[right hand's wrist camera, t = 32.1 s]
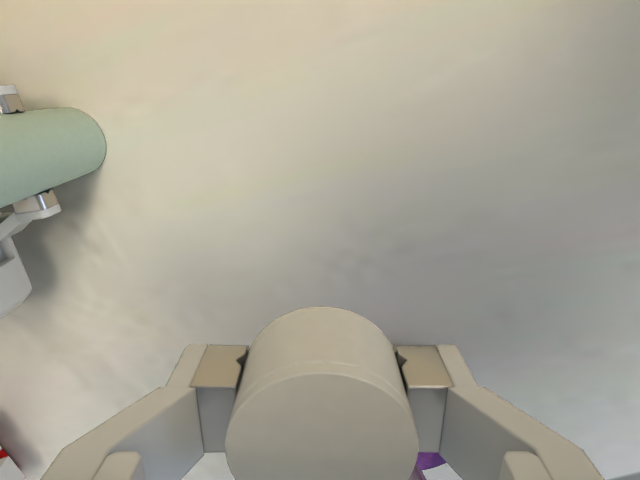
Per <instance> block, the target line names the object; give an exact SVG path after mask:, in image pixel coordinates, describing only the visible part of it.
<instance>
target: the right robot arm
mask: <svg viewBox="0 0 640 480" xmlns="http://www.w3.org/2000/svg"><path fill="white" fill-rule="evenodd" d="M249 349H250V348H249V346H247V345H188V346H187V347H186V348H185V349H184V351H183V353H182V355H181V357H180V359H179V361H178V363H177V365H176V367H175V369H174V371H173V372H172V374H171V376H170V378H169V380H168V382H167V384H166V386H165V387H159V388H157V389H155V390H154V391H152V392H151V393H149V394H148V395H146V396H144V397H143V398H141V399H140V400H138V401H137V402H135V403H134V404H132V405H130V406H129V407H127V408H126V409H124V410H123V411H121V412H119V413H118V414H116V415H115V416H113V417H112V418H110V419H109V420H107V421H105V422H104V423H102V424H101V425H99V426H98V427H96V428H94V429H93V430H91V431H90V432H88V433H87V434H85V435H84V436H82V437H80V438H79V439H77V440H76V441H74V442H73V443H71V444H69V445H68V446H66V447H65V448H63V449H62V450H61V451H60V453H59V454H58V455H57V457H56V458H55V460H54V461H53V462H52V464H51V465H50V467H49V468H48V469H47V471H46V472H45V474H44V475H43V476H42V478H41V479H40V480H181V479H182V478H183V477H184V476H185V475H186V474H187V473H188V472H189V470H190V469H191V468H192V467H193V466H194V465H195V464H196V463H197V462H198V461H199V460H200V459H201V458H202V456H203V455H204V453H210V452H225V439H226V432H227V429H228V425H229V421H230V417H231V414H232V410H233V406H234V403H235V399H236V396H237V392H238V388H239V385H240V381H241V377H242V373H243V369H244V366H245V362H246V359H247V355H248V351H249ZM393 349H394V352H395V355H396V359H397V363H398V366H399V369H400V372H401V377H402V380H403V384H404V387H405V391H406V395H407V398H408V401H409V404H410V408H411V412H412V415H413V419H414V422H415V426H416V429H417V434H418V443H419V450H418V452H433V453H439V455H440V456H441V457H442V458H443V459H444V460H445V461H446V462H447V463H448V464H449V465H450V467H451V468H452V469H453V470H454V471H455V472H456V473H457V474H458V475H459V476H460V477H461V478H462V479H463V480H604V478H603V477H602V475H601V474H600V473H599V471H598V470H597V468H596V467H595V466H594V464H593V463H592V461H591V460H590V459H589V457H588V456H587V455H586V453H585V452H584V450H582V449H581V448H579V447H578V446H576V445H575V444H573V443H571V442H570V441H568V440H567V439H565V438H564V437H562V436H560V435H559V434H557V433H556V432H554V431H553V430H551V429H549V428H548V427H546V426H545V425H543V424H542V423H540V422H538V421H537V420H535V419H534V418H532V417H531V416H529V415H527V414H526V413H524V412H523V411H521V410H520V409H518V408H516V407H515V406H513V405H512V404H510V403H509V402H507V401H505V400H504V399H502V398H501V397H499V396H498V395H496V394H494V393H493V392H491V391H490V390H488V389H487V388H485V387H478V385H477V383H476V381H475V379H474V378H473V376H472V374H471V372H470V370H469V368H468V366H467V365H466V363H465V361H464V359H463V357H462V355H461V353H460V351H459V350H458V348H457V346H455V345H454V344H449V345H430V346H394V348H393Z"/></svg>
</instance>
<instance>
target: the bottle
mask: <svg viewBox="0 0 640 480" xmlns="http://www.w3.org/2000/svg"><path fill="white" fill-rule="evenodd" d="M105 154H106V142H105V138H104V135H103V132H102V130H101V129H100V127H99V126H98V124H97V123H96V122H95V121H94V120H93V119H92V118H91V117H90V116H89V115H87V114H86V113H84V112H82V111H80V110H78V109H75V108H70V107H60V108H50V109H40V110H30V111H23V112H15V113H5V114H0V208H2V207H5V206H7V205H10V204H12V203H15V202H17V201H20V200H22V199H25V198H27V197H30V196H33V195H35V194H38V193H40V192H43V191H45V190H48V189H50V188H53V187H55V186H58V185H60V184H63V183H65V182H68V181H70V180H73V179H75V178H78V177H81V176H83V175H86V174H88V173H91V172H93V171H94V170H96V169H97V168H98V167H99V166H100V165H101V163H102V162H103V160H104V157H105Z"/></svg>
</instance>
